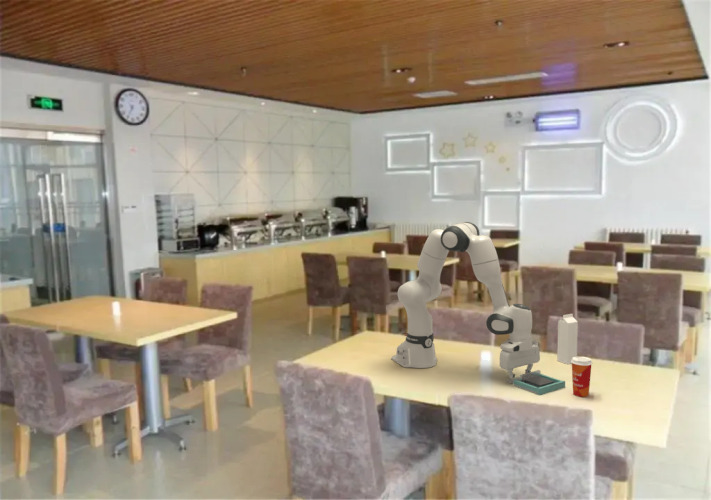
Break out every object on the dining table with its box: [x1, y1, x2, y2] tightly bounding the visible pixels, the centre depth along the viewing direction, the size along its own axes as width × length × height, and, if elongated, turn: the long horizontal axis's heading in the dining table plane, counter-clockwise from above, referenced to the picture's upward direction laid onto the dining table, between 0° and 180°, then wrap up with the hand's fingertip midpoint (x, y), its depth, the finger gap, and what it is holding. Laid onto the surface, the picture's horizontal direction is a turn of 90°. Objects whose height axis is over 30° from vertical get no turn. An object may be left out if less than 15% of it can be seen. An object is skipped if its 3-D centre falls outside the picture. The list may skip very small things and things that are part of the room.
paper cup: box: [571, 356, 593, 398], centre depth 224 cm, size 8×8×14 cm
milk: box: [556, 313, 579, 365], centre depth 264 cm, size 6×6×22 cm
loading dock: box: [505, 373, 566, 396], centre depth 236 cm, size 19×15×4 cm
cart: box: [519, 369, 554, 387], centre depth 234 cm, size 9×11×4 cm
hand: (519, 376), depth 242 cm, fingers open, 8 cm apart
